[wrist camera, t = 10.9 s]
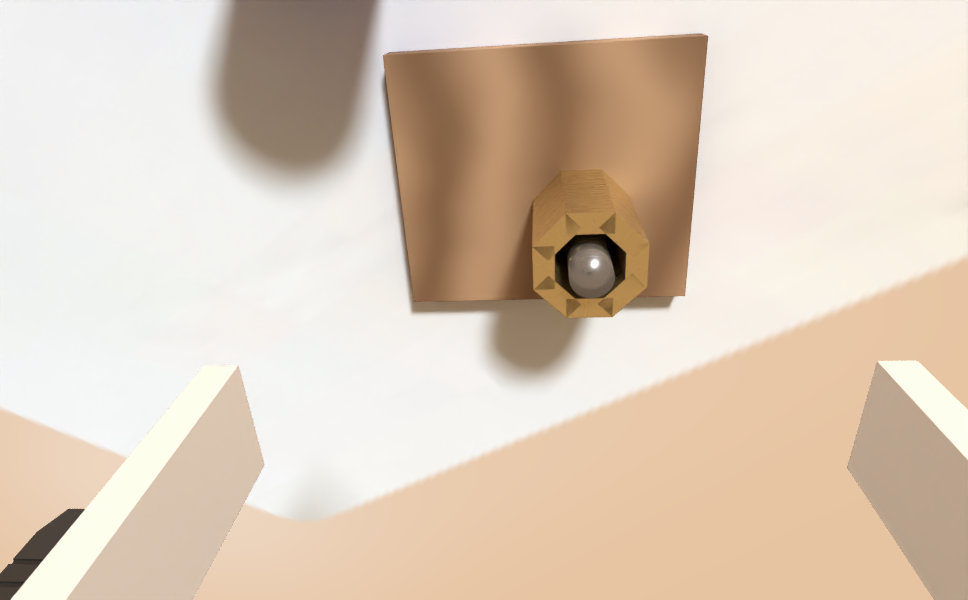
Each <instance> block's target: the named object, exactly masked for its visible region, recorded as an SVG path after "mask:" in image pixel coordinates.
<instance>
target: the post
mask: <svg viewBox="0 0 968 600" xmlns="http://www.w3.org/2000/svg"><path fill="white" fill-rule="evenodd" d="M566 253H567V263H568V272H569V282H570V285H571V287H572V289H573V290H574V292H575V293H577V294H578V295H580V296H582V297H585V298H598V297H601V296H603V295H605V294H606V293H607V292H608V291H609V290H610V289H611V288H612V286H613V284H614V281H615V273H614V269H613V265H612V261H611V257H610V253H609V250H608V246H607V242H606V238H605V234H582V235H575V236H574V237H573V238H571V239H570V240H569V241H568V242H567V243H566Z"/></svg>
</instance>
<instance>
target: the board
mask: <svg viewBox="0 0 968 600" xmlns="http://www.w3.org/2000/svg"><path fill="white" fill-rule="evenodd" d="M707 43H708V36H707V35H704V34H685V35H668V36H652V37H635V38H619V39H602V40H585V41H569V42H552V43H536V44H519V45H503V46H486V47H470V48H453V49H437V50H420V51H403V52H389V53H387V54H385V55H383V60H384V68H385V76H386V84H387V92H388V100H389V107H390V115H391V123H392V131H393V139H394V147H395V155H396V163H397V171H398V179H399V187H400V195H401V203H402V211H403V219H404V227H405V235H406V243H407V250H408V258H409V266H410V274H411V282H412V290H413V298H414V302H422V301H469V300H516V299H544V298H543V297H541V296H540V295H539V294H538V293H537V292H535V291H534V290H533V258H532V231H533V199H534V198H535V197H536V196H537V195H538V194H539V193H540V192H541V191H542V190H543V189H544V188H545V187H546V186H547V185H548V184H549V183H550V182H551V181H552V179H553V178H554V177H555V176H556V175H557V174H558V173H559V172H560V171H568V170H593V169H602V170H603V171H604V172H605V173H606V174H607V175H608V176H609V177H610V178H611V179H612V180H614V181H615V182H616V183H617V184H618V185H619V186H620V187H621V188H622V189H623V190H624V191H625V192H626V193H627V194H628V195H629V196H630V198H631V201H632V203H633V205H634V208H635V210H636V212H637V215H638V217H639V220H640V222H641V224H642V227H643V229H644V231H645V234H646V236H647V239H648V241H649V243H650V244H649V262H648V279H647V288H645V289H644V290H643V291H642V292H641V293H640V294H639V295H637V296H636V297H658V296H685V289H686V278H687V267H688V256H689V245H690V233H691V222H692V211H693V200H694V189H695V177H696V166H697V155H698V144H699V132H700V121H701V110H702V99H703V88H704V76H705V65H706V54H707Z"/></svg>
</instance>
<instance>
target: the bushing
mask: <svg viewBox="0 0 968 600" xmlns="http://www.w3.org/2000/svg"><path fill="white" fill-rule="evenodd" d="M582 234H605V238H606V242H607V246H608V250H609V253H610V257H611V261H612V265H613V269H614V273H615V281H614V284H613V286H612V288H611V289H610V290H609V291H608V292H607V293H606V294H605V295H603V296H601V297H598V298H585V297H582V296H580V295H578V294H577V293H575V292H574V290H573V289H572V287H571V285H570V282H569V272H568V263H567V253H566V243H567V242H568V241H569V240H570V239H571V238H573V237H574V236H575V235H582ZM649 244H650V243H649V241H648V239H647V236H646V234H645V231H644V229H643V227H642V224H641V222H640V220H639V217H638V215H637V212H636V210H635V208H634V205H633V203H632V201H631V198H630V196H629V195H628V194H627V193H626V192H625V191H624V190H623V189H622V188H621V187H620V186H619V185H618V184H617V183H616V182H615V181H614V180H612V179H611V178H610V177H609V176H608V175H607V174H606V173H605V172H604V171H603V170H602V169H593V170H568V171H560V172H559V173H558V174H557V175H556V176H555V177H554V178H553V179H552V181H551V182H550V183H549V184H548V185H547V186H546V187H545V188H544V189H543V190H542V191H541V192H540V193H539V194H538V195H537V196H536V197H535V198H534V199H533V231H532V258H533V290H534V291H535V292H537V293H538V294H539V295H540V296H541V297H543V298H544V299H545V300H546V301H547V302H548V303H550V304H551V305H552V306H553V307H554V308H555V309H557V310H558V311H559V312H560V313H561V314H563V315H564V316H565V317H566V318H586V317H613V316H614V315H615V314H616V313H618V312H619V311H620V310H621V309H622V308H623V307H625V306H626V305H627V304H628V303H629V302H630V301H632V300H633V299H634V298H635V297H636V296H637V295H639V294H640V293H641V292H642V291H643V290H644V289H645V288H647V279H648V262H649Z"/></svg>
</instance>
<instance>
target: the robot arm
mask: <svg viewBox="0 0 968 600" xmlns="http://www.w3.org/2000/svg"><path fill="white" fill-rule="evenodd" d="M263 467H264V461H263V457H262V453H261V450H260V446H259V442H258V438H257V434H256V430H255V427H254V423H253V419H252V415H251V411H250V408H249V404H248V400H247V396H246V392H245V389H244V385H243V381H242V377H241V373H240V370H239V366H238V365H216V366H203V367H202V368H201V370H200V371H199V372H198V373H197V374H196V376H195V377H194V378H193V379H192V381H191V382H190V383H189V384H188V385H187V387H186V388H185V389H184V390H183V391H182V393H181V394H180V395H179V396H178V398H177V399H176V400H175V401H174V402H173V404H172V405H171V406H170V407H169V408H168V410H167V411H166V412H165V413H164V414H163V416H162V417H161V418H160V419H159V421H158V422H157V423H156V424H155V425H154V427H153V428H152V429H151V430H150V431H149V433H148V434H147V435H146V436H145V438H144V439H143V440H142V441H141V442H140V444H139V445H138V446H137V447H136V448H135V450H134V451H133V452H132V453H131V454H130V456H129V457H128V458H127V459H126V461H125V462H124V463H123V464H122V465H121V467H120V468H119V469H118V470H117V471H116V473H115V474H114V475H113V476H112V478H111V479H110V480H109V481H108V483H107V484H106V485H105V486H104V487H103V488H102V490H101V491H100V492H99V493H98V494H97V496H96V497H95V498H94V499H93V501H92V502H91V503H90V504H89V505H88V507H87V508H86V509H68V510H66V511H65V512H64V513H62V514H61V515H60V516H58V517H57V518H56V519H54V520H53V521H51V522H50V523H48V524H47V525H46V526H44V527H43V528H42V529H40V530H39V531H38V532H36V534H35V535H34V536H33V537H32V538H31V539H30V540H29V542H28V543H27V544H26V545H25V546H24V547H23V548H22V550H21V551H20V552H19V553H18V554H17V555H16V556H15V558H14V559H13V560H14V561H13V563H12V564H8V565H7V567H6V568H5V569H4V570H3V571H2V572H1V573H0V600H193V598H194V596H195V594H196V592H197V590H198V588H199V587H200V585H201V583H202V581H203V579H204V577H205V575H206V574H207V571H208V570H209V568H210V566H211V564H212V562H213V560H214V558H215V557H216V555H217V553H218V551H219V549H220V547H221V545H222V543H223V542H224V540H225V538H226V536H227V534H228V532H229V530H230V529H231V527H232V525H233V523H234V521H235V519H236V517H237V515H238V514H239V512H240V510H241V508H242V506H243V504H244V502H245V500H246V499H247V497H248V495H249V493H250V491H251V489H252V487H253V485H254V483H255V482H256V480H257V478H258V476H259V474H260V472H261V470H262V468H263ZM847 468H848V470H849V471H850V473H851V474H852V476H853V477H854V479H855V480H856V482H857V483H858V485H859V486H860V488H861V489H862V491H863V492H864V494H865V495H866V497H867V498H868V500H869V501H870V503H871V504H872V506H873V508H874V509H875V511H876V512H877V514H878V515H879V517H880V518H881V520H882V521H883V523H884V524H885V526H886V527H887V529H888V530H889V532H890V533H891V535H892V536H893V538H894V540H895V541H896V543H897V544H898V546H899V547H900V549H901V550H902V552H903V553H904V555H905V556H906V558H907V559H908V561H909V562H910V564H911V565H912V567H913V568H914V570H915V571H916V573H917V574H918V576H919V577H920V579H921V581H922V582H923V584H924V585H925V587H926V588H927V590H928V591H929V593H930V594H931V596H932V597H933V599H934V600H968V410H967V409H966V408H965V407H964V406H963V405H962V404H961V403H960V402H959V401H958V400H957V399H956V398H955V397H954V396H953V395H952V394H951V393H950V392H949V391H948V390H947V389H946V388H945V387H943V385H941V383H939V381H937V380H936V379H935V378H934V377H933V376H932V375H931V374H930V373H929V372H928V371H927V370H926V369H925V368H924V367H923V366H922V365H921V364H920V363H919V362H918V361H877V363H876V367H875V370H874V374H873V377H872V381H871V385H870V388H869V392H868V395H867V399H866V402H865V406H864V410H863V413H862V417H861V420H860V424H859V427H858V431H857V434H856V438H855V442H854V445H853V449H852V452H851V456H850V460H849V463H848V466H847Z"/></svg>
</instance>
